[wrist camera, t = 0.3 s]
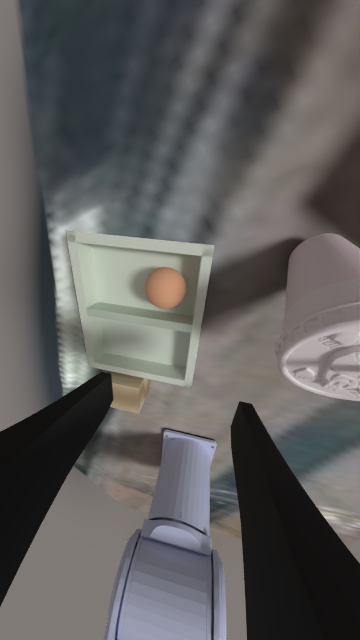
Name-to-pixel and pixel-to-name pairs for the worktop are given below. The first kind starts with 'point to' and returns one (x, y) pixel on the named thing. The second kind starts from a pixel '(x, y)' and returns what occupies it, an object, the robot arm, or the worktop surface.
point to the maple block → (129, 391)
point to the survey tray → (138, 304)
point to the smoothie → (322, 318)
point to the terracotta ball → (165, 287)
